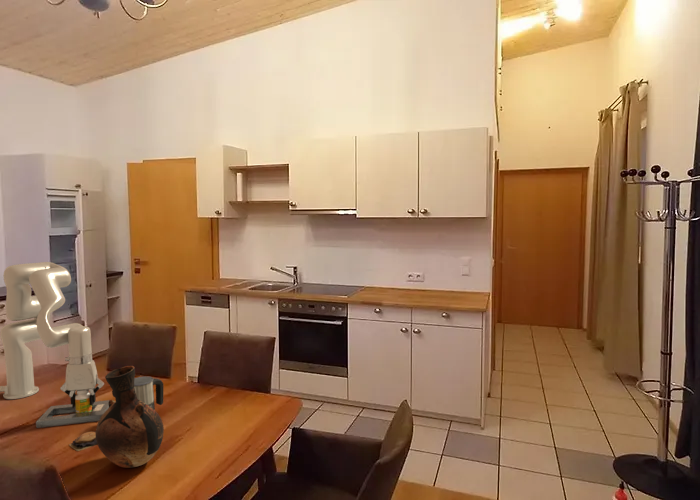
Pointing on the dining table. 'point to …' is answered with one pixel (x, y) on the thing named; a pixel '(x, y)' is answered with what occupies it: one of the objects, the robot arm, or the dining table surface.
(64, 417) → the grey rectangular frame
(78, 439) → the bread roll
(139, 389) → the milk frother
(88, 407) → the supplement bottle
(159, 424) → the ceramic vessel
